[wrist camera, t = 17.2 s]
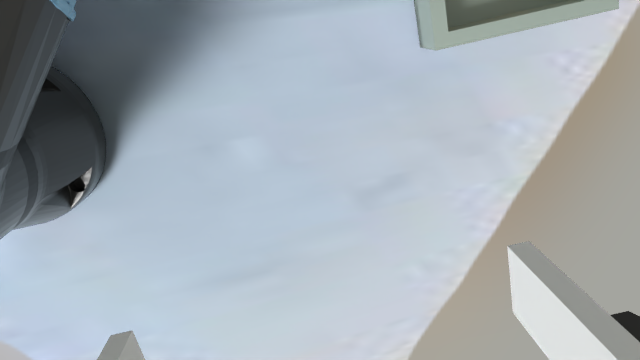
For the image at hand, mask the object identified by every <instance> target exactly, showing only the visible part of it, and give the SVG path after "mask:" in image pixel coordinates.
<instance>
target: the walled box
mask: <svg viewBox="0 0 640 360" xmlns="http://www.w3.org/2000/svg"><path fill="white" fill-rule="evenodd" d="M414 5H415V12H416V20H417V27H418V34H419V42H420V47H421V48H426V49H430V50H435V51H436V50H440V49H445V48H449V47H453V46H458V45H462V44H466V43H471V42H475V41H480V40H484V39H488V38H493V37H497V36H501V35H506V34H510V33H514V32H519V31H523V30H528V29H532V28H536V27H541V26H545V25H549V24H554V23H558V22H562V21H567V20H571V19H576V18H580V17H584V16H589V15H593V14H597V13H602V12H606V11H610V10H615V9H619V0H414Z"/></svg>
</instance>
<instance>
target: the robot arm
mask: <svg viewBox="0 0 640 360" xmlns="http://www.w3.org/2000/svg"><path fill="white" fill-rule="evenodd" d="M76 1H77V0H0V239H1V238H2V237H4V236H5V235H6V234H8V233H9V232H10V231H11V230H15V229H19V228H24V227H28V226H33V225H37V224H42V223H46V222H49V221H52V220H54V219H56V218H59V217H61V216H62V215H64V214H66V213H68V212H69V211H71V210H72V209H73V208H75V207H76V206H77V205H78V204H79V203H80V202H81V201H83V200H84V199H85V198H86V197H87V196H88V195H89V194H90V193H91V192H92V190H93V189H94V188H95V186H96V185H97V183H98V181H99V179H100V177H101V174H102V171H103V168H104V164H105V157H106V143H105V136H104V132H103V128H102V125H101V122H100V119H99V117H98V115H97V113H96V111H95V109H94V107H93V106H92V104H91V103H90V101H89V100H88V98H87V97H86V96H85V94H84V93H83V92H82V91H81V90H80V89H79V88H78V87H77V86H76V85H75V84H74V83H73V82H72V81H71V80H70V79H69V78H67V77H66V76H65V75H63V74H62V73H61V72H59V71H58V70H56V69H54V68H53V67H51V64H52V62H53V59H54V57H55V54H56V52H57V49H58V47H59V44H60V42H61V40H62V37H63V35H64V32H65V30H66V27H67V25H68V22H69V20H70V21H74V19H75V17H76V12H75V10H74V7H75V4H76ZM507 247H508V259H509V271H510V283H511V295H512V306H513V313H514V314H515V316H516V317H517V318H518V320H519V321H520V322H521V324H522V325H523V326H524V327H525V329H526V330H527V331H528V333H529V334H530V335H531V336H532V338H533V339H534V340H535V342H536V343H537V344H538V346H539V347H540V348H541V349H542V351H543V352H544V353H545V355H546V356H547V357H548V359H549V360H640V316H637V315H636V314H633V313H631V312H629V311H626V312H622V313H618V314H613V315H609V314H608V313H607V312H606V311H605V310H604V309H603V308H602V307H601V306H600V305H599V304H597V303H596V302H595V301H594V300H593V299H592V298H591V297H590V296H589V295H588V294H587V293H585V292H584V291H583V290H582V289H581V288H580V287H579V286H578V285H577V284H575V282H573V281H572V280H571V279H570V278H569V277H568V276H567V275H566V274H565V273H564V272H563V271H561V270H560V269H559V268H558V267H557V266H556V265H555V264H554V263H553V262H552V261H551V260H549V259H548V258H547V257H546V256H545V255H544V254H543V253H542V252H541V251H540V250H539V249H537V248H536V247H535V246H534V245H533V244H532V243H531V242H530V241H528V242H524V243H519V244H515V245H510V246H507ZM97 360H145V358H144V356H143V354H142V352H141V349H140V347H139V345H138V342H137V340H136V338H135V335H134V333H133V331H128V332H123V333H119V334H115V335H111V336H110V337H109V339H108V341H107V343H106V345H105V346H104V348H103V350H102V352H101V354H100V355H99V357H98V359H97Z"/></svg>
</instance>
